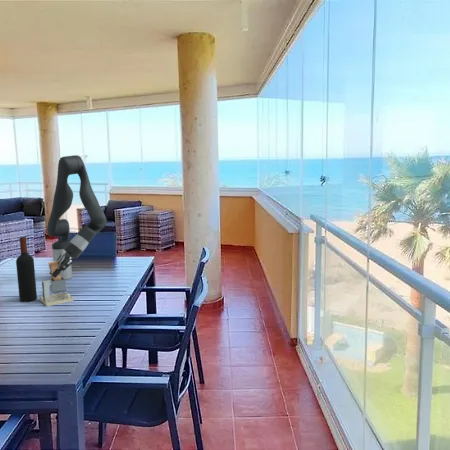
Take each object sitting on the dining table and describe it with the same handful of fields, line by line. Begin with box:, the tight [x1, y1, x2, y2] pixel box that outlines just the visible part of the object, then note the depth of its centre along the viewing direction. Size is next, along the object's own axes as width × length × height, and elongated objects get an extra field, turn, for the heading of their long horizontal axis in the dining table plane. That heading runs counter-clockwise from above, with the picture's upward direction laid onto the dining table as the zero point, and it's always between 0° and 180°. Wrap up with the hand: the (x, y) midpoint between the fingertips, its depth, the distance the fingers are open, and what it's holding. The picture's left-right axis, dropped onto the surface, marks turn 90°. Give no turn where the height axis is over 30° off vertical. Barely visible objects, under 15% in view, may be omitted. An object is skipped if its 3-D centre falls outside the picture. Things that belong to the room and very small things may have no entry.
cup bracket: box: [39, 277, 74, 307], centre depth 200 cm, size 12×12×10 cm
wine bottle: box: [15, 236, 38, 303], centre depth 201 cm, size 8×8×30 cm
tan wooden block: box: [48, 260, 61, 281], centre depth 200 cm, size 3×3×12 cm
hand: (52, 275), depth 199 cm, fingers open, 3 cm apart
